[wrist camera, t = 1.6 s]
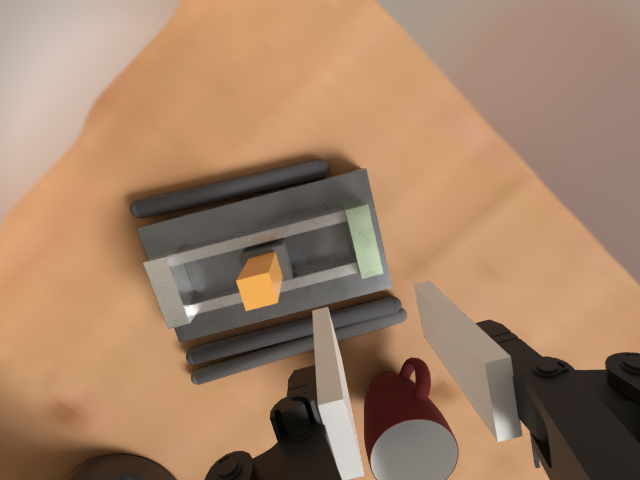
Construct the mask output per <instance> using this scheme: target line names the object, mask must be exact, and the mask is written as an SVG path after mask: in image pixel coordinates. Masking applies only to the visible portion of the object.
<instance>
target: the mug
mask: <svg viewBox="0 0 640 480" xmlns="http://www.w3.org/2000/svg"><path fill="white" fill-rule="evenodd" d="M414 370H415V376H416V382H415V383H414V382H413V381H412V380H411V379H410V376H411V374H412V373H413V371H414ZM430 388H431V377H430V372H429V369H428V367H427V365H426V363H425V362H424V361H422V360H421V359H418V358H409V359H407V360H406V361H405V362H404V364H403V366H402V368H401V371H400V373H399V374H396V373H383V374H381V375H379V376H378V377H376V378H375V379H374V381H373V382H372V384H371V385H370V387H369V389H368V391H367V394H366V397H365V401H364V440H365V447H366V452H367V457H368V460H369V464H370V468H371V471H372V473H373V475H374V477H375V479H376V480H447V478H448V477H449V476H450V475H451V474H452V472H453V470H454V469H455V467H456V464H457V461H458V453H459V452H458V445H457V441H456V439H455V437H454V435H453V433H452V431H451V429H450V427H449V425H448V423H447V421H446V420H445V418H444V417H443V415H442V414H441V412H440V411H439V410H438V408H437V407H436V406H435V405H434V404H433V402H432V401H431V400H430V399H429V398H428V396H429V393H430Z"/></svg>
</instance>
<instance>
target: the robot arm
mask: <svg viewBox="0 0 640 480" xmlns="http://www.w3.org/2000/svg"><path fill="white" fill-rule="evenodd" d="M414 289H415V294H416V299H417V304H418V309H419V313H420V318H421V323H422V328H423V333H424V337H425V338H426V340H427V341H428V343H429V344H430V345H431V347H432V348H433V350H434V351H435V353H436V354H437V356H438V357H439V358H440V360H441V361H442V363H443V364H444V366H445V367H446V368H447V370H448V371H449V373H450V374H451V376H452V377H453V378H454V380H455V381H456V383H457V384H458V386H459V387H460V388H461V390H462V391H463V393H464V394H465V396H466V397H467V399H468V400H469V401H470V403H471V404H472V406H473V407H474V409H475V410H476V411H477V413H478V414H479V416H480V417H481V419H482V420H483V421H484V423H485V424H486V426H487V427H488V429H489V430H490V432H491V433H492V434H493V436H494V437H495V439H496V440H497V442H500V441H504V440H508V439H512V438H516V437H520V436H522V430H521V423H520V420H521V421H522V422H523V424H524V425H525V426H526V427H527V428H528V430H529V431H530V436H531V443H532V450H533V457H534V463H535V467H536V468H540V465H539V460H540V462H541V464H542V466H543V468H544V469H545V471H546V473H547V475H548V477H549V479H550V480H640V354H639V353H630V352H623V353H616V354H613V355H611V356H609V357H608V358H607V359H606V361H605V366H606V370H575V369H574V368H573V367H572V366H570V365H569V364H568V363H567V362H565V361H562V360H560V359H557V358H552V357H542V356H541V355H539V354H538V353H537V352H536V351H534V350H533V349H532V348H531V347H530V346H528V345H527V344H526V343H525V342H523V341H522V340H521V339H518V337H517V336H516V335H515V334H513V333H511V331H510V330H509V329H507V328H506V327H505V326H504V325H502V324H500V323H497V322H495V321H492V320H486V321H482V322H478V323H474V322H473V321H472V320H471V319H470V318H469V317H468V316H467V315H466V314H465V313H464V312H462V311H461V310H460V309H459V308H458V307H457V306H456V305H455V304H454V303H453V302H452V301H451V300H450V299H449V298H447V297H446V296H445V295H444V294H443V293H442V292H441V291H440V290H439V289H438V288H437V287H436V286H435V285H434V284H432V283H431V282H430V281H426V282H422V283H418V284H414ZM312 316H313V333H314V351H315V365H313V366H309V367H306V368H302V369H298V370H294V371H293V373H292V375H291V376H290V378H289V379H288V391H287V397H285V398H283V399H281V400H280V401H279V402H278V403H277V404H275V405H274V407H273V409H272V410H271V412H270V420H271V423H272V426H273V429H274V432H275V435H276V438H277V441H278V442H277V443H276V444H275V445H274V446H273V447H272V448H271V449H269V450H268V451H266V452H264V453H263V454H261V455H259V456H257V457H255V458H253V459H252V457H251V456H250V454H249V453H247V452H244V451H234V452H232V453H229V454H226V455H225V456H223V457H222V458H220V459H219V460H217V461H216V463H215V464H214V465H213V466H212V467H211V468H210V470H209V472H208V473H207V475H206V478H205V480H349V479H353V478H357V477H361V476H364V470H363V465H362V460H361V455H360V450H359V445H358V440H357V435H356V429H355V424H354V419H353V414H352V409H351V404H350V399H349V394H348V388H347V383H346V378H345V373H344V368H343V363H342V358H341V354H340V350H339V346H338V343H337V339H336V335H335V331H334V328H333V324H332V320H331V317H330V313H329V309H328V307H325V308H321V309H317V310H313V311H312ZM65 480H176V479H175V478H174V477H173V476H172V475H171V474H170V473H169V472H168V471H167V470H165V469H164V468H162V467H161V466H159V465H158V464H156V463H154V462H152V461H149V460H147V459H144V458H141V457H137V456H132V455H124V454H113V455H105V456H100V457H96V458H93V459H91V460H88V461H86V462H84V463H82V464H81V465H79V466H78V467H76V468H75V469H74V470H73V471H72V472H71V473H70V474H69V475H68V476H67V477H66V479H65Z"/></svg>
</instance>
